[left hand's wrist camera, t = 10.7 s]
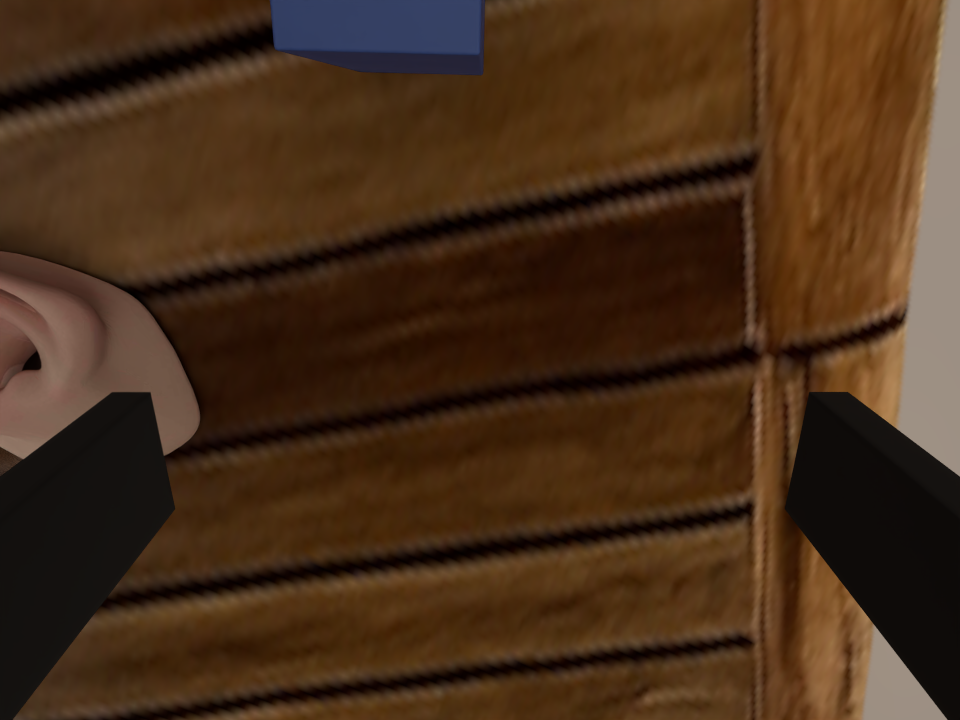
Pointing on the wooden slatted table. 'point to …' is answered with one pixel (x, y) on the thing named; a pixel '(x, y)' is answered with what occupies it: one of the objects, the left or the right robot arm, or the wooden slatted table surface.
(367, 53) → the brick
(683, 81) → the wooden slatted table surface
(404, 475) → the wooden slatted table surface
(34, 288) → the anatomical model
